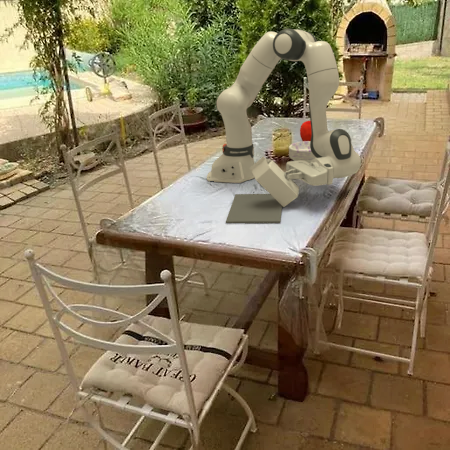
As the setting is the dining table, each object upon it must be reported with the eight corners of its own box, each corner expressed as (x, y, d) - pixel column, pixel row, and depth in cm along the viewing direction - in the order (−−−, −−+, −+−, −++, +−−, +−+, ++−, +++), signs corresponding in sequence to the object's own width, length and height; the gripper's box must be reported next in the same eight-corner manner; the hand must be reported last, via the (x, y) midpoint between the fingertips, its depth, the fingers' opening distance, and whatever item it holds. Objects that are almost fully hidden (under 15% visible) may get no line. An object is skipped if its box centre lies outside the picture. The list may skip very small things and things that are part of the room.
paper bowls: (300, 169, 215) (300, 152, 212) (283, 161, 228) (282, 144, 224) (328, 162, 220) (329, 146, 217) (310, 155, 233) (310, 139, 229)
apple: (328, 146, 244) (328, 120, 238) (311, 151, 238) (311, 124, 233) (311, 142, 253) (311, 117, 247) (295, 147, 247) (294, 121, 242)
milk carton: (298, 196, 173) (261, 160, 169) (284, 207, 177) (247, 172, 172) (299, 187, 179) (264, 152, 175) (285, 198, 183) (251, 164, 178)
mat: (225, 223, 168) (225, 221, 167) (235, 196, 191) (235, 194, 191) (280, 223, 165) (280, 221, 164) (283, 195, 188) (283, 193, 187)
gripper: (306, 154, 185) (273, 160, 181) (335, 168, 167) (300, 175, 163) (305, 170, 188) (274, 175, 184) (334, 185, 170) (300, 192, 166)
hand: (286, 175), depth 173 cm, fingers closed
